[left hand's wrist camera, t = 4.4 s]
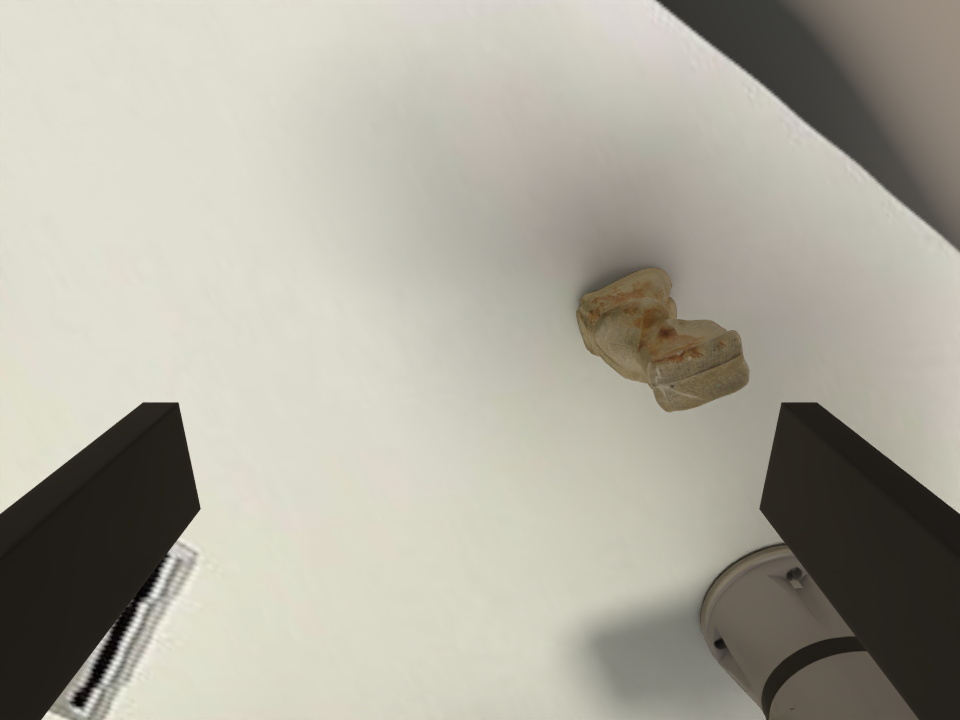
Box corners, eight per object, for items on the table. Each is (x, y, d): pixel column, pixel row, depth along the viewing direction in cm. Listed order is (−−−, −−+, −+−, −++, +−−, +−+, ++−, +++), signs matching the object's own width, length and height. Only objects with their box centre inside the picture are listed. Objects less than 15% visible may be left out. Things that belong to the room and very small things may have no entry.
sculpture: (674, 325, 44) (766, 412, 30) (582, 351, 44) (629, 449, 30) (659, 252, 42) (751, 309, 28) (564, 281, 42) (605, 351, 28)
